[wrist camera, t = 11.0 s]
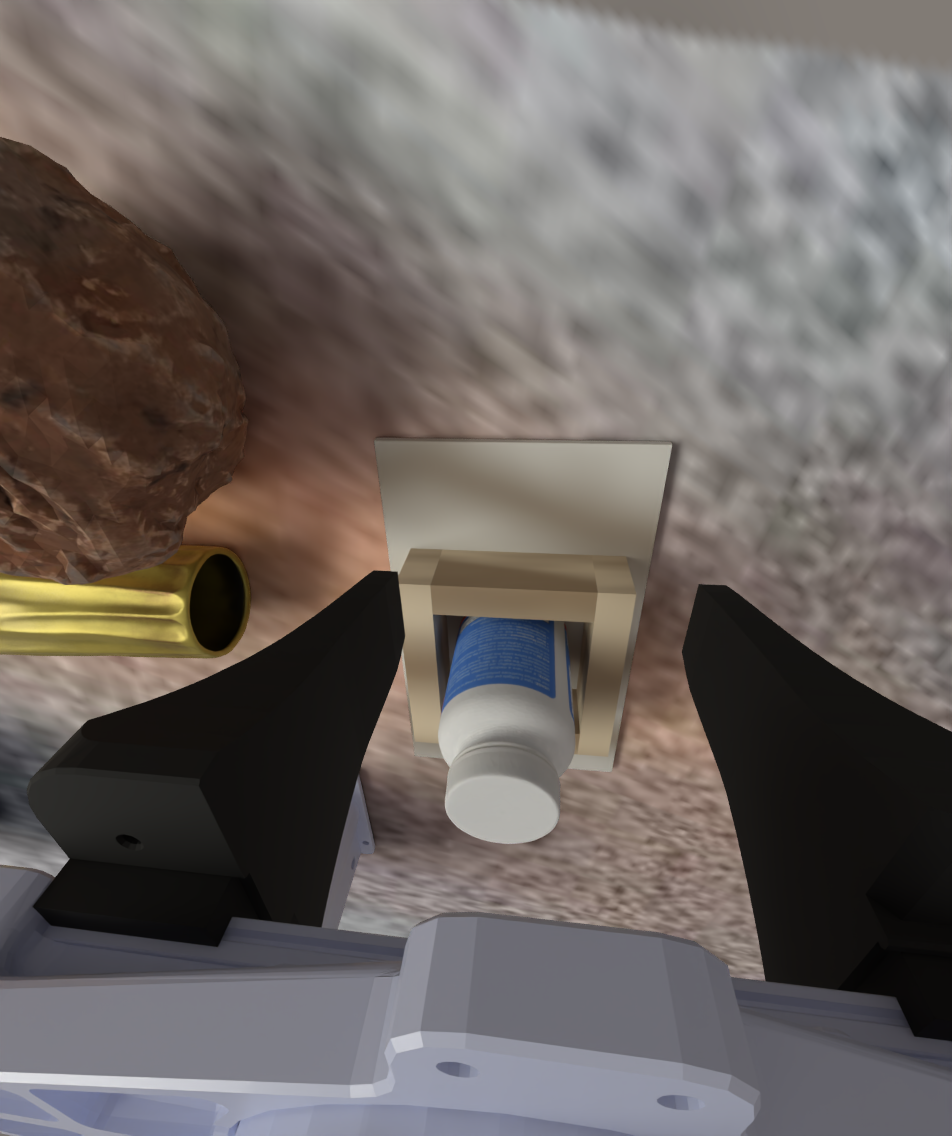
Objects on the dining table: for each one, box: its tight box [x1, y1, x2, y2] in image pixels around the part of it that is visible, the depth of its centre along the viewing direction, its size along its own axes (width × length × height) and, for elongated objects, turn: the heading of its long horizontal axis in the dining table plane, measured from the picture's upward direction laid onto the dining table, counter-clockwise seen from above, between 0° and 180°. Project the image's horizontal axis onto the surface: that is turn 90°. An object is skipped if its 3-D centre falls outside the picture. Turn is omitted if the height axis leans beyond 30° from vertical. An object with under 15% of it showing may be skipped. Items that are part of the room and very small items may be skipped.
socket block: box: [374, 438, 672, 772], centre depth 25 cm, size 20×12×3 cm, turn 1°
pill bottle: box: [438, 616, 575, 844], centre depth 21 cm, size 6×5×10 cm
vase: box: [0, 545, 251, 658], centre depth 24 cm, size 6×6×14 cm
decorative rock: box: [0, 137, 248, 585], centre depth 17 cm, size 13×11×10 cm
